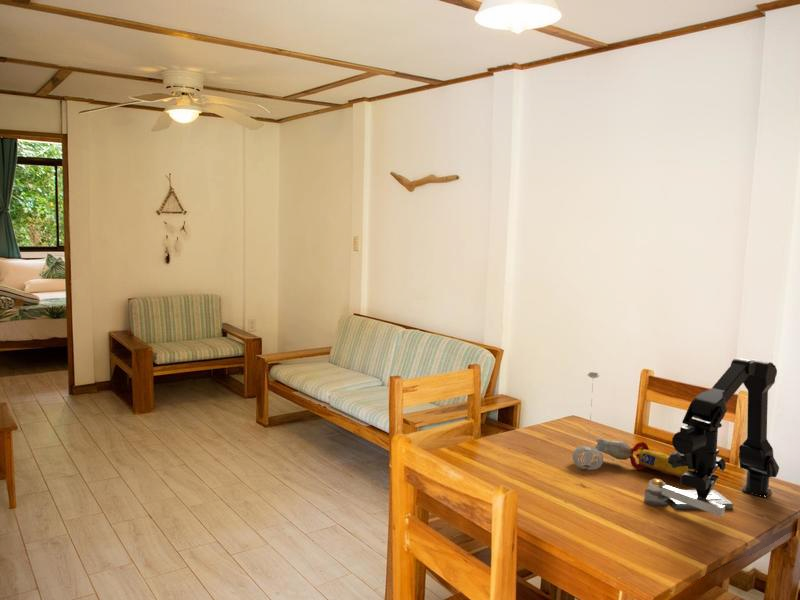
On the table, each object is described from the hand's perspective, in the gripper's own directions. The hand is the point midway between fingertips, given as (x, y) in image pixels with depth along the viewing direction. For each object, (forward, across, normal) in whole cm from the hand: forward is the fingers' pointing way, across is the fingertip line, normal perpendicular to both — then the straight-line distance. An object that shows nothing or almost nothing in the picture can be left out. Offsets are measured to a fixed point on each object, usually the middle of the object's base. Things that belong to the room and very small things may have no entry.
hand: (701, 502), depth 172 cm
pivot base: (+3, 0, -12) cm, 12 cm away
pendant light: (+3, -10, -37) cm, 39 cm away
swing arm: (0, +2, -4) cm, 4 cm away
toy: (+4, -22, -23) cm, 32 cm away
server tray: (+4, -8, -4) cm, 9 cm away
